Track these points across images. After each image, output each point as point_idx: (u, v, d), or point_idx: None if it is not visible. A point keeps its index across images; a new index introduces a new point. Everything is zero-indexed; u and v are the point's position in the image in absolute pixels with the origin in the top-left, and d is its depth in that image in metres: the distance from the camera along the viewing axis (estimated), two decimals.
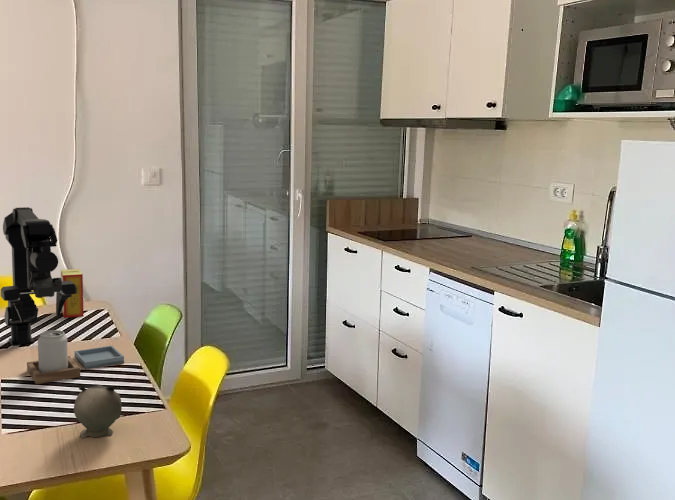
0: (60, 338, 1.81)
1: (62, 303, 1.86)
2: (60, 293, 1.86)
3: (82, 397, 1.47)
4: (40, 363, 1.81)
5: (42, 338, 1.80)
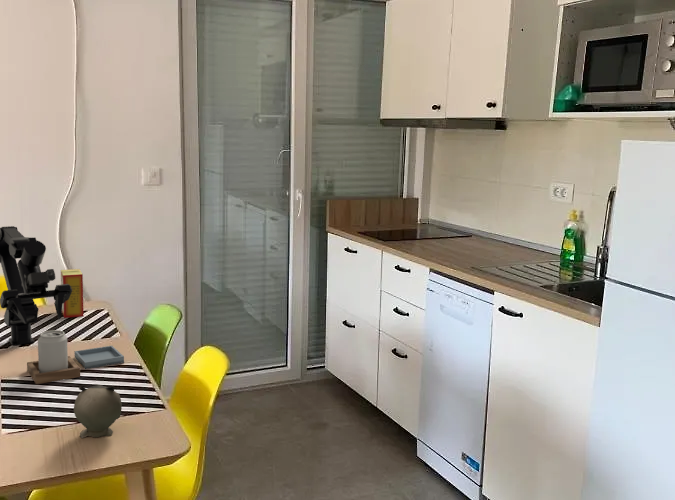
0: (60, 338, 1.81)
1: (61, 302, 1.93)
2: (57, 297, 1.95)
3: (82, 397, 1.47)
4: (40, 363, 1.81)
5: (42, 338, 1.80)
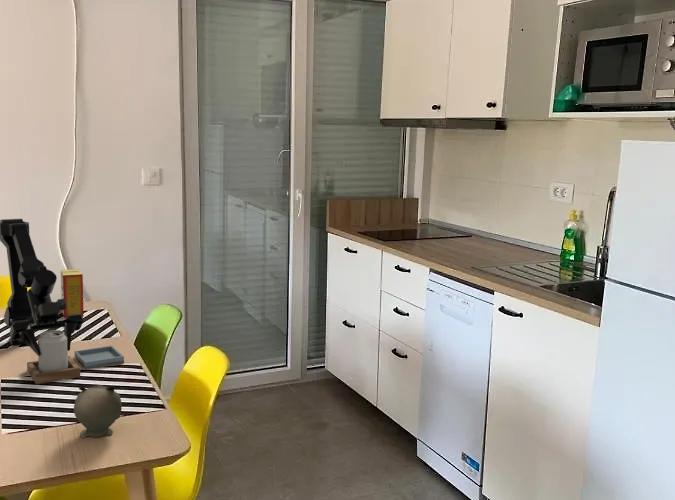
0: (60, 338, 1.81)
1: (70, 333, 1.86)
2: (66, 327, 1.88)
3: (82, 397, 1.47)
4: (40, 363, 1.81)
5: (42, 338, 1.80)
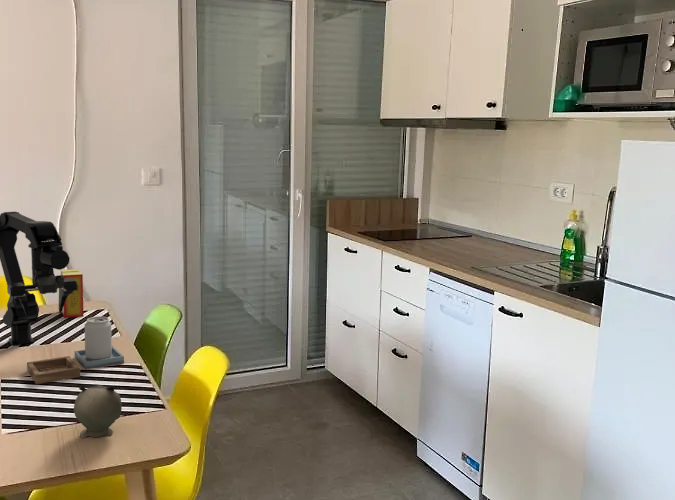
0: (108, 322, 1.95)
1: (64, 299, 2.00)
2: (62, 289, 2.01)
3: (82, 397, 1.47)
4: (92, 348, 1.92)
5: (93, 324, 1.92)
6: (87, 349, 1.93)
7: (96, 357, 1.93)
